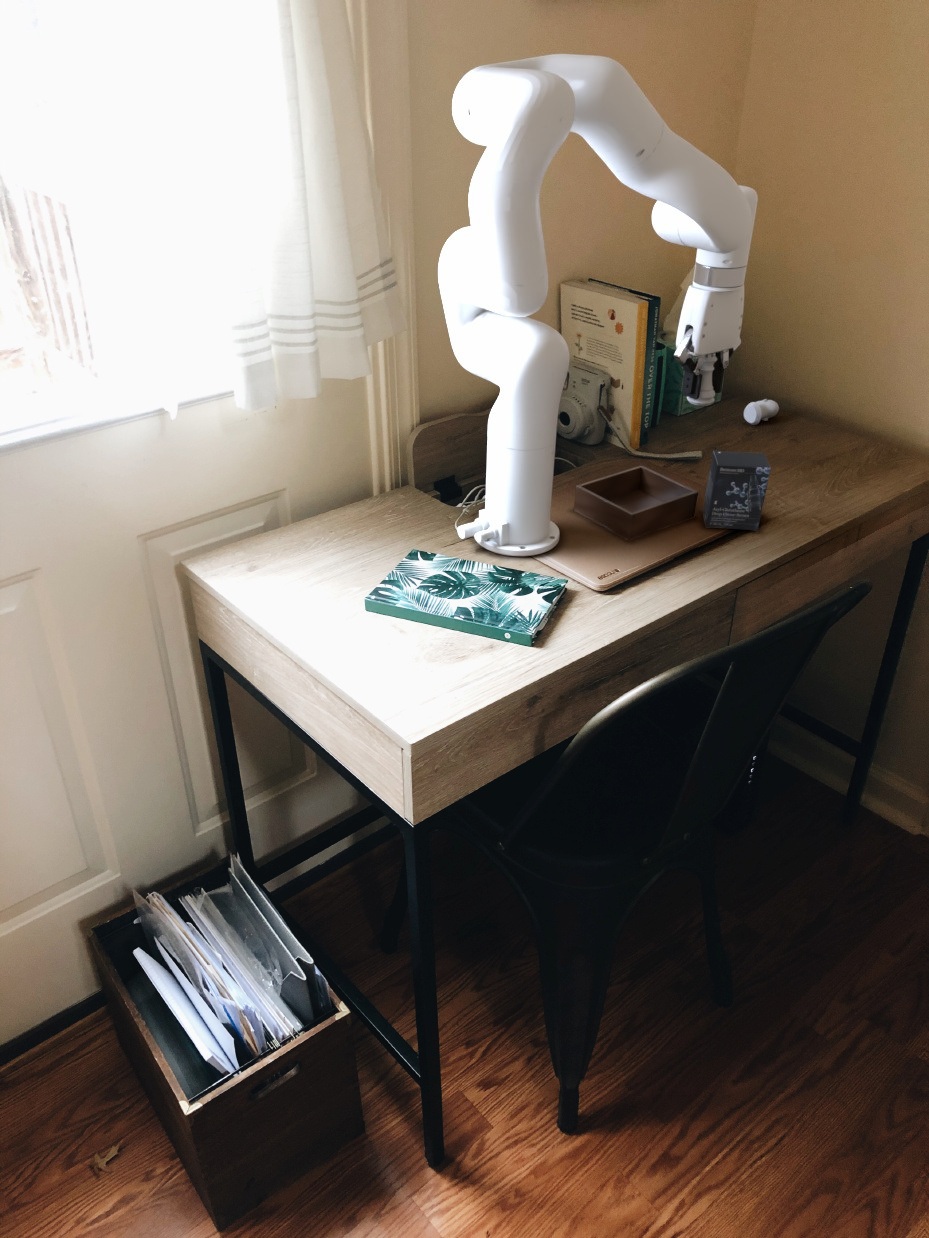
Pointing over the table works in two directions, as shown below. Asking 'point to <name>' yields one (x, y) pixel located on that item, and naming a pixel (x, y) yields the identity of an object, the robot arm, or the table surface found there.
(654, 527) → the tray
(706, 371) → the rook chess piece
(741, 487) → the box
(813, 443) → the table surface
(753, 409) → the smooth white sculpture
